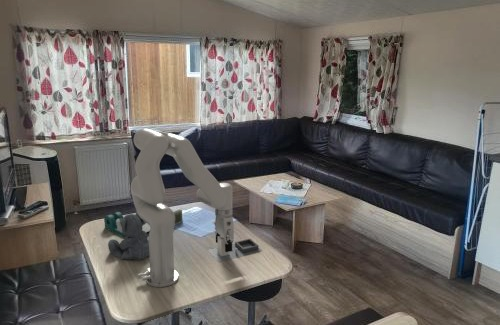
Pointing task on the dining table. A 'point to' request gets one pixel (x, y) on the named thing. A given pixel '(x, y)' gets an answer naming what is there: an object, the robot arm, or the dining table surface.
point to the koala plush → (130, 239)
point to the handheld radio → (177, 217)
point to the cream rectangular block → (222, 246)
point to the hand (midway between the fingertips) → (223, 246)
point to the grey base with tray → (237, 250)
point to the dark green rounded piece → (113, 222)
